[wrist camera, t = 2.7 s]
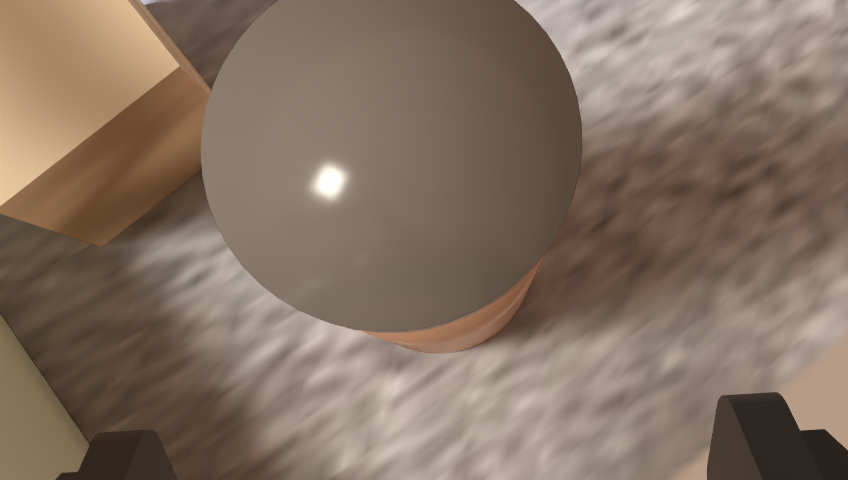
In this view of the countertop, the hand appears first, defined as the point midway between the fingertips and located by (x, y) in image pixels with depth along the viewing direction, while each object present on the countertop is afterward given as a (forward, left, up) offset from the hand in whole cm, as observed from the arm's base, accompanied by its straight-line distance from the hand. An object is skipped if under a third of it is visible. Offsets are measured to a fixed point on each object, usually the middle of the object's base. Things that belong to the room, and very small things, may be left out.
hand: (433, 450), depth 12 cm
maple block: (-9, +9, -9) cm, 15 cm away
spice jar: (0, +4, -9) cm, 10 cm away
